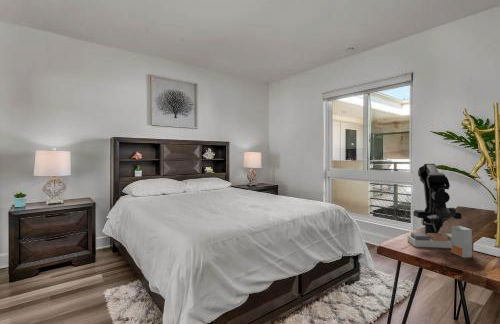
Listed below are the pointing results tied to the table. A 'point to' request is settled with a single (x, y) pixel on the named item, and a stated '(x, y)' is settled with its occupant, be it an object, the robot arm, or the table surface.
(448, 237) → the sage key
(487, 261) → the table surface
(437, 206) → the robot arm
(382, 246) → the table surface
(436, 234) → the terracotta key
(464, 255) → the skincare box
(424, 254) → the table surface
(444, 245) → the light grey divided tray
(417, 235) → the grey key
